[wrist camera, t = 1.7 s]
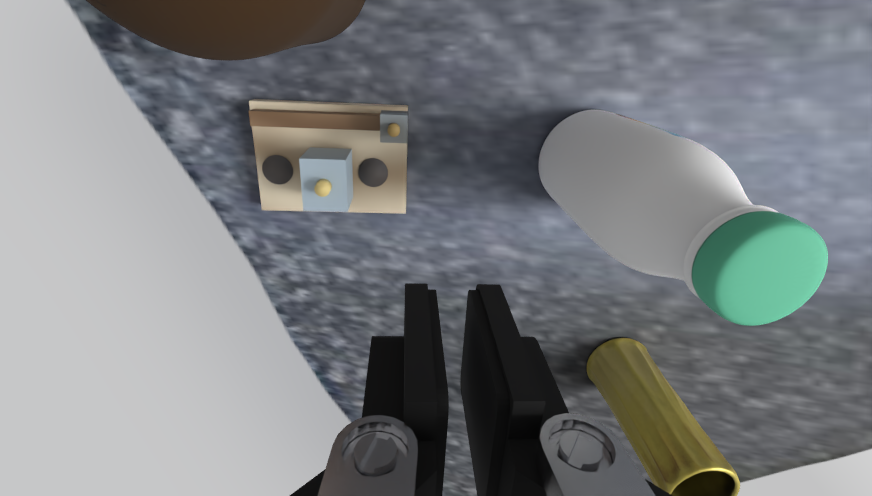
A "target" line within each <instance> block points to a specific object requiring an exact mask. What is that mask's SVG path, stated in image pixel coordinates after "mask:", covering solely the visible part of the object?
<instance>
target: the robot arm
mask: <svg viewBox="0 0 872 496" xmlns="http://www.w3.org/2000/svg"><path fill="white" fill-rule="evenodd" d="M461 394H462V400H463V406H464V413H465V419H466V426H467V432H468V438H469V445H470V451H471V458H472V464H473V470H474V477H475V483H476V490H477V496H673V495H671V494H669V493H668V492H666V491H664V490H663V489H661V488H659V487H657V486H656V485H654V484H652V483H651V482H649V481H647V480H646V479H644V477H643V476H642V474H641V473H640V471H639V469H638V468H637V466H636V465H635V463H634V462H633V460H632V459H631V457H630V456H629V454H628V453H627V451H626V449H625V448H624V446H623V445H622V443H621V442H620V440H619V439H618V438H617V437H616V436H615V434H614V433H613V432H612V431H611V430H610V429H608V428H607V427H606V426H604V425H603V424H602V423H600V422H598V421H596V420H594V419H592V418H590V417H587V416H583V415H579V414H569V412H568V409H567V407H566V405H565V403H564V400H563V398H562V396H561V394H560V391H559V389H558V387H557V385H556V382H555V380H554V378H553V375H552V373H551V371H550V369H549V366H548V364H547V362H546V360H545V357H544V355H543V353H542V350H541V348H540V346H539V344H538V342H537V340H536V338H534V337H520V334H519V332H518V329H517V326H516V324H515V321H514V319H513V316H512V314H511V311H510V309H509V306H508V303H507V301H506V298H505V296H504V293H503V291H502V288H501V286H500V285H487V284H478V285H477V287H476V290H469V291H468V299H467V310H466V322H465V333H464V344H463V356H462V367H461ZM448 406H449V405H448V387H447V379H446V370H445V362H444V353H443V345H442V337H441V328H440V320H439V311H438V303H437V294H436V290H428V286H427V284H405V318H404V336H372V339H371V347H370V355H369V363H368V372H367V380H366V388H365V396H364V405H363V413H362V418H360V419H357V420H355V421H354V422H352V423H350V424H349V425H347V426H346V427H345V428H344V429H343V430H342V431H341V432H340V433H339V434H338V435H337V438H336V439H335V442H334V444H333V446H332V450H331V453H330V456H329V459H328V463H327V466H326V469H325V470H324V471H322V472H321V473H320V474H318V475H317V476H316V477H314V478H313V479H312V480H310V481H309V482H307V483H306V484H305V485H303V486H302V487H301V488H299V489H298V490H297V491H295V492H294V493H293V494H291V495H290V496H442V491H443V478H444V465H445V452H446V439H447V425H448Z"/></svg>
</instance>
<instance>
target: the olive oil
mask: <svg viewBox="0 0 872 496" xmlns="http://www.w3.org/2000/svg"><path fill="white" fill-rule="evenodd" d="M86 1H88V2H89V3H90V4H91V5H93V6H94V7H95V8H97V9H98V10H99V11H101V12H102V13H103V14H105V15H106V16H108V17H109V18H111V19H112V20H114V21H115V22H117V23H118V24H120V25H121V26H123V27H125V28H126V29H128V30H130V31H131V32H133V33H135V34H137V35H138V36H140V37H142V38H144V39H146V40H148V41H150V42H152V43H155V44H157V45H159V46H161V47H164V48H167V49H169V50H172V51H175V52H178V53H182V54H185V55H189V56H193V57H198V58H204V59H212V60H244V59H251V58H257V57H261V56H265V55H269V54H272V53H275V52H279V51H282V50H285V49H289V48H293V47H297V46H301V45H306V44H313V43H319V42H323V41H326V40H328V39H331V38H333V37H335V36H337V35H338V34H340V33H341V32H343V31H344V30H345V29H346V28H347V27H348V26H349V25H350V24H351V23H352V22H353V21H354V20H355V18H356V17H357V16H358V14H359V12H360V11H361V9H362V7H363V5H364V2H365V0H86Z"/></svg>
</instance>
